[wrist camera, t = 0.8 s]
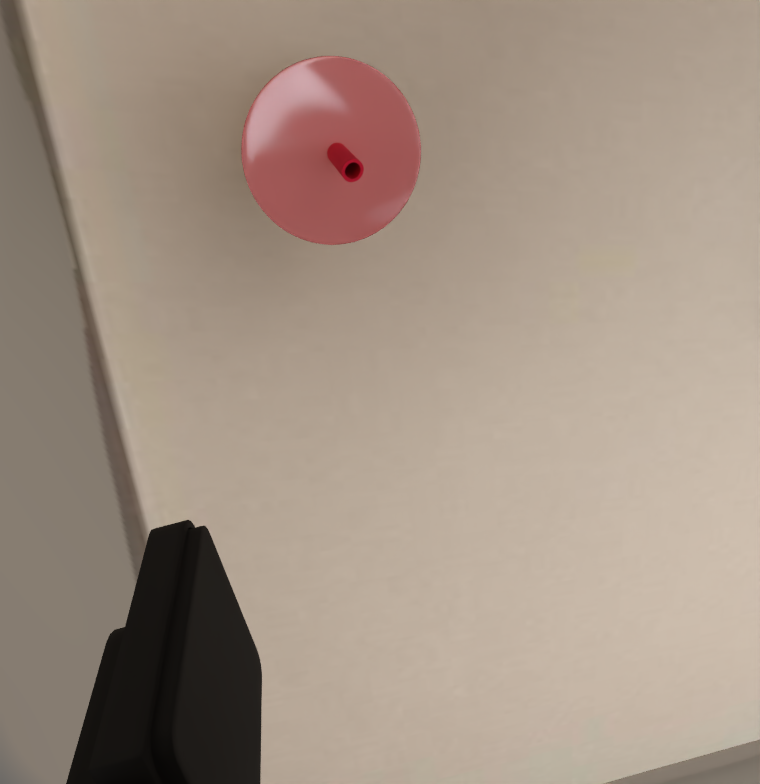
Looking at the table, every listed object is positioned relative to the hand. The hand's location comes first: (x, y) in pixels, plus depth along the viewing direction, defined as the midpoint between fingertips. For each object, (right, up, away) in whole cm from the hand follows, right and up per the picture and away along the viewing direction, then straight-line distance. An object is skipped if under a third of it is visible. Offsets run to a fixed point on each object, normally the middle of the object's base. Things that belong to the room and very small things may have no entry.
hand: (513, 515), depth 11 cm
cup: (-5, +13, +18) cm, 23 cm away
